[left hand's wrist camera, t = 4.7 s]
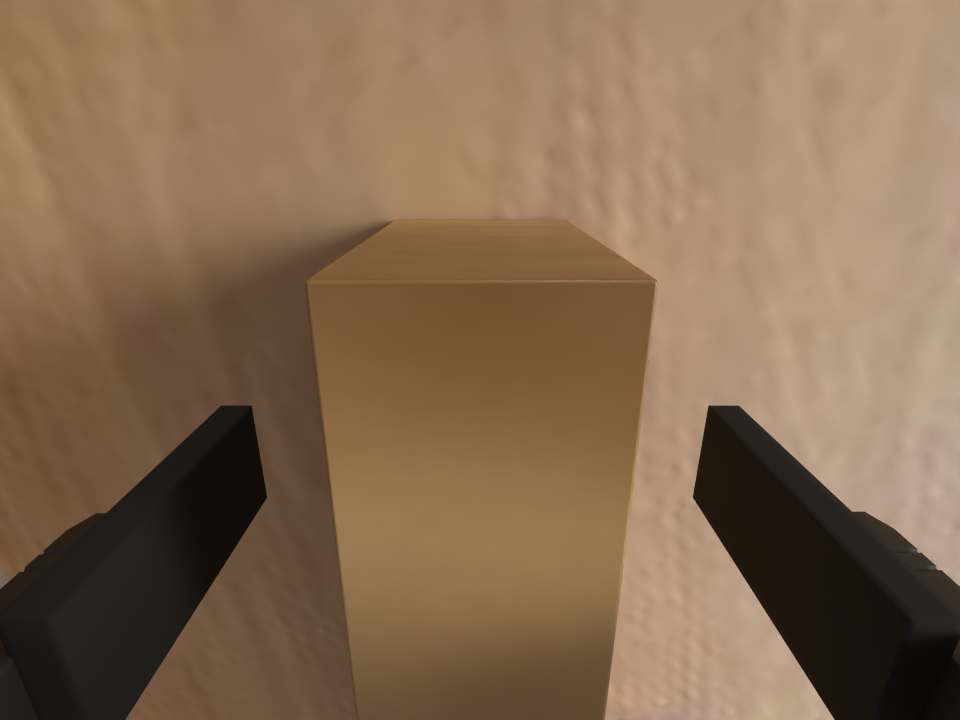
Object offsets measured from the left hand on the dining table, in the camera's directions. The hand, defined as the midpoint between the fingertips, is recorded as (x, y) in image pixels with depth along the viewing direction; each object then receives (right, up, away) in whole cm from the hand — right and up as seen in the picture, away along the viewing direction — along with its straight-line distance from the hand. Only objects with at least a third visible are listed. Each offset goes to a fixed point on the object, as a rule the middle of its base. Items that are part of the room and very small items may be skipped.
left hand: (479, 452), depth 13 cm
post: (0, -19, +9) cm, 21 cm away
